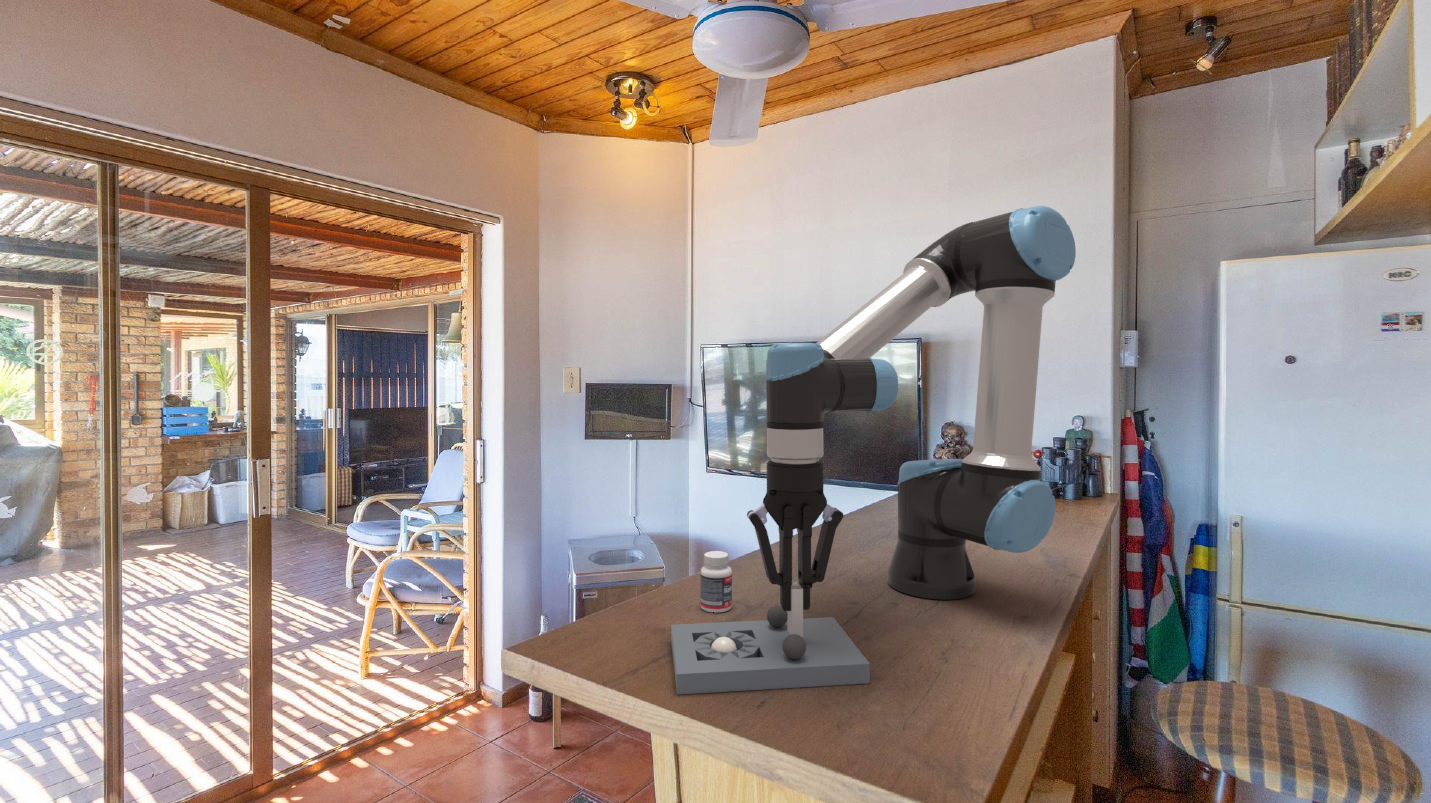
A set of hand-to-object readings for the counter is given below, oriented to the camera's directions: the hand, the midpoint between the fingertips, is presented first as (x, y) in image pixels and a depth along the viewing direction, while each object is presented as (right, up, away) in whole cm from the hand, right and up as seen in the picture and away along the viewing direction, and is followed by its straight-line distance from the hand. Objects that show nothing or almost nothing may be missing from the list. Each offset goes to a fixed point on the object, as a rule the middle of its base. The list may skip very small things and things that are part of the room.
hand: (795, 632), depth 84 cm
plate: (-4, -4, 0) cm, 6 cm away
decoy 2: (-1, 0, -5) cm, 5 cm away
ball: (-10, -2, -1) cm, 10 cm away
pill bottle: (-11, -3, +19) cm, 22 cm away
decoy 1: (-2, +1, +5) cm, 5 cm away
